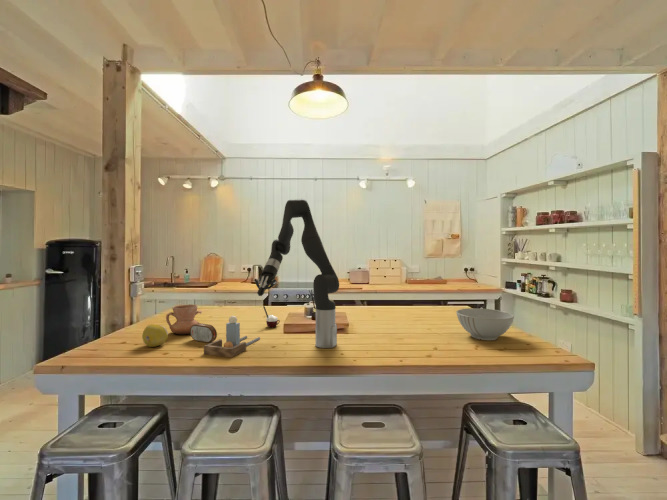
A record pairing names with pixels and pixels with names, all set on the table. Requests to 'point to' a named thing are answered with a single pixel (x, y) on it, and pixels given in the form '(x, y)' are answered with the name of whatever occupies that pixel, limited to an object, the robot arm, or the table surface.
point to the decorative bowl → (485, 322)
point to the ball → (228, 344)
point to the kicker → (233, 331)
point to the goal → (223, 349)
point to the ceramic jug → (183, 318)
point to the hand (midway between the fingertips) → (259, 294)
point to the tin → (203, 332)
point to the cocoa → (271, 320)
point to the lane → (250, 341)
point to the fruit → (154, 335)
